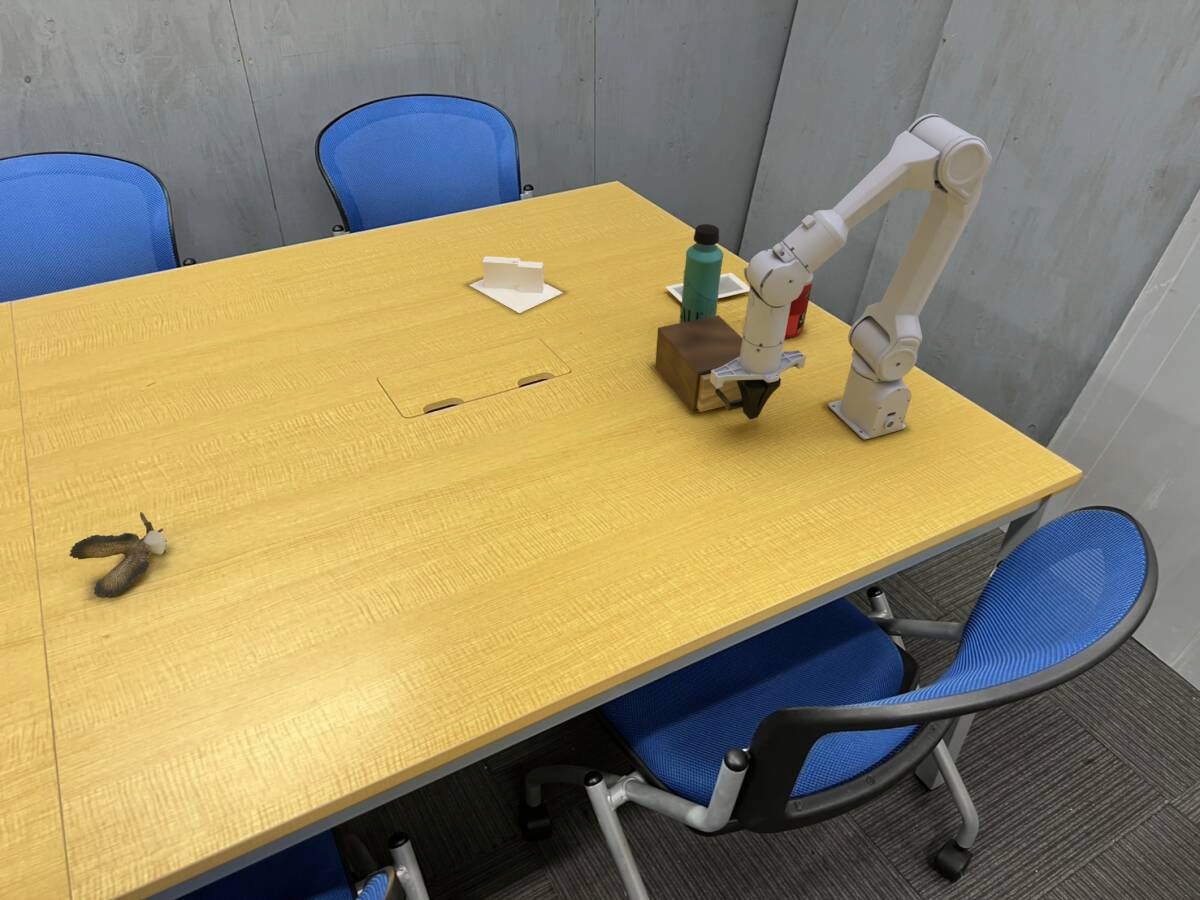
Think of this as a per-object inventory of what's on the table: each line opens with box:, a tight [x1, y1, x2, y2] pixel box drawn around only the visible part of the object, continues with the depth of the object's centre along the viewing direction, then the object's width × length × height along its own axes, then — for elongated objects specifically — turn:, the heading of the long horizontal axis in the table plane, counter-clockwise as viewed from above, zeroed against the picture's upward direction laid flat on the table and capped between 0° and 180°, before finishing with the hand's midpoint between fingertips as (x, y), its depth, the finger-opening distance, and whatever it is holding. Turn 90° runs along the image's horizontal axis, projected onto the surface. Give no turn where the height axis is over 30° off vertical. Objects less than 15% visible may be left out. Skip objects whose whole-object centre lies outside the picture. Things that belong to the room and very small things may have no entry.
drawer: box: [697, 373, 743, 413], centre depth 127 cm, size 18×10×6 cm, turn 22°
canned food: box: [785, 272, 814, 339], centre depth 142 cm, size 8×8×11 cm
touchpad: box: [664, 272, 750, 303], centre depth 154 cm, size 8×15×2 cm, turn 115°
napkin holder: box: [468, 255, 564, 314], centre depth 153 cm, size 15×11×6 cm
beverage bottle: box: [678, 223, 724, 323], centre depth 137 cm, size 6×7×20 cm
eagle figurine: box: [68, 511, 168, 598], centre depth 97 cm, size 8×7×9 cm
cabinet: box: [654, 314, 743, 413], centre depth 130 cm, size 14×11×8 cm
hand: (750, 414), depth 120 cm, fingers closed, pressing on drawer
